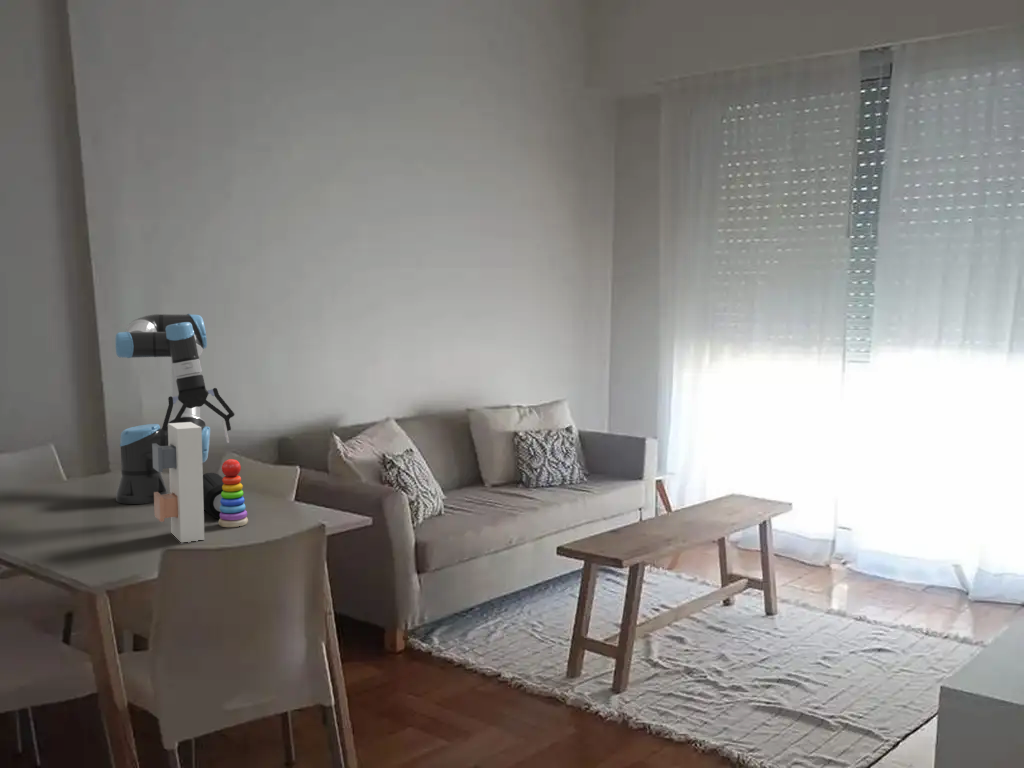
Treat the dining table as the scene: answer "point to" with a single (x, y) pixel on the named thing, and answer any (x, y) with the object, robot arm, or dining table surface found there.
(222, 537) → the dining table surface
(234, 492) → the stacking toy
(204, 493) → the portable speaker
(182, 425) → the button panel
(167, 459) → the upper button
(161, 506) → the lower button
